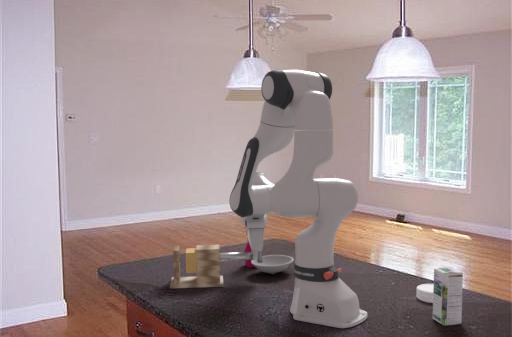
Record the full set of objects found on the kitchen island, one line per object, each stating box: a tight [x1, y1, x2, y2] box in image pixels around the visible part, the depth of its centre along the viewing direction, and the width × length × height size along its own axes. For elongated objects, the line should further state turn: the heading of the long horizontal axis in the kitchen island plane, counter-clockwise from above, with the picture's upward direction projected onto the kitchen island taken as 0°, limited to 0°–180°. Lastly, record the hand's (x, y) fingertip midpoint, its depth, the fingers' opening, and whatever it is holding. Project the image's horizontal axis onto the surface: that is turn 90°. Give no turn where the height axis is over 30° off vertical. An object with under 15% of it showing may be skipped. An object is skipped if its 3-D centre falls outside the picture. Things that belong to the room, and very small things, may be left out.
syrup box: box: [432, 266, 464, 327], centre depth 148 cm, size 6×6×14 cm
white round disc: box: [415, 283, 434, 304], centre depth 168 cm, size 10×10×4 cm
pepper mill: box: [243, 228, 256, 268], centre depth 209 cm, size 7×7×20 cm
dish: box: [251, 254, 295, 275], centre depth 198 cm, size 18×14×5 cm
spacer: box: [185, 247, 197, 274], centre depth 187 cm, size 4×7×7 cm, turn 4°
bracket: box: [169, 244, 224, 289], centre depth 187 cm, size 18×10×13 cm, turn 94°
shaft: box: [220, 250, 263, 263], centre depth 187 cm, size 25×5×5 cm, turn 94°
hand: (254, 258), depth 188 cm, fingers closed on shaft, 3 cm apart
